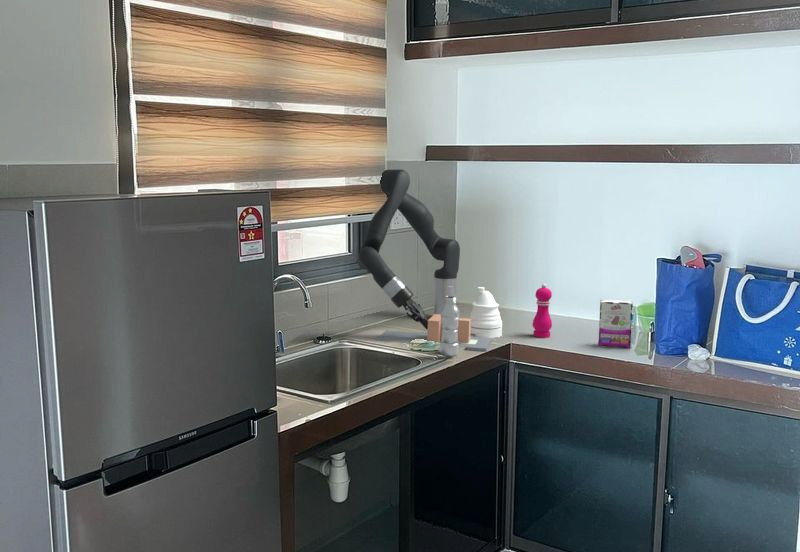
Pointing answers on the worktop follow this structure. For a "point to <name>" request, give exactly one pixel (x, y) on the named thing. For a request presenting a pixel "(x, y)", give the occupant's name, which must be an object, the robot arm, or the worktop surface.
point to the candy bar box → (615, 323)
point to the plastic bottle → (449, 328)
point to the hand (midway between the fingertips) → (429, 327)
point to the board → (407, 337)
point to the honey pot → (485, 316)
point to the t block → (436, 329)
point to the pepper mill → (542, 313)
